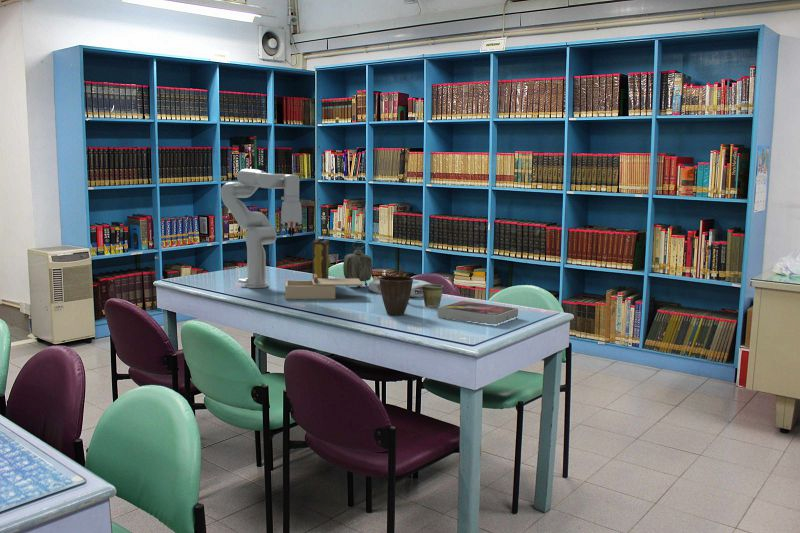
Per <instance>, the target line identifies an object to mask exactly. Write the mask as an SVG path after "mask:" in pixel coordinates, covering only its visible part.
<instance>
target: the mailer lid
mask: <svg viewBox="0 0 800 533" xmlns="http://www.w3.org/2000/svg"><path fill="white" fill-rule="evenodd" d="M311 280H312V283H313V286H335V287H338V286H339V287H354V286H355V287H356V286H357V287H358V286H360V287H362V286H363V283H362V281H360V280H359V279H346V278H328V279H326V278H318V277H317V274H313V273H312V278H311Z"/></svg>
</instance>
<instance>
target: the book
mask: <svg viewBox="0 0 800 533" xmlns="http://www.w3.org/2000/svg"><path fill="white" fill-rule="evenodd" d="M321 240H322V238H317V239H315V240H313V242H312V275H313V274H317V277H318V278H326V279H329V267H330V265H331V263H332V262H331V259H330V257H329V256H330V254H329V253H330V252H329V251H330V250H329V249H330V239H329V238H325V239H324V240H323V241H321Z"/></svg>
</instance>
